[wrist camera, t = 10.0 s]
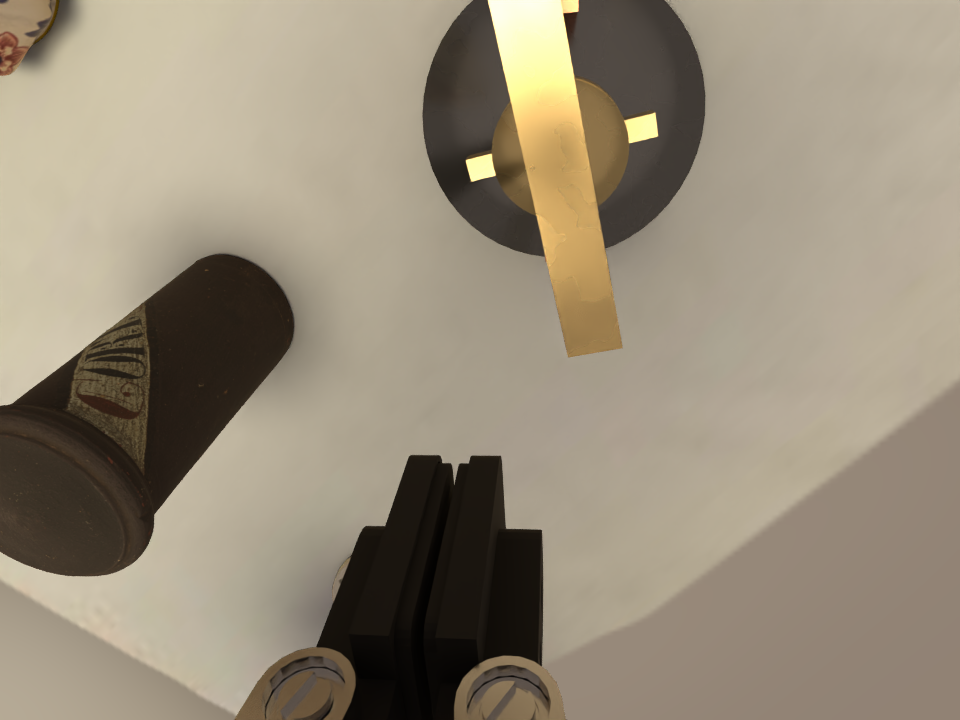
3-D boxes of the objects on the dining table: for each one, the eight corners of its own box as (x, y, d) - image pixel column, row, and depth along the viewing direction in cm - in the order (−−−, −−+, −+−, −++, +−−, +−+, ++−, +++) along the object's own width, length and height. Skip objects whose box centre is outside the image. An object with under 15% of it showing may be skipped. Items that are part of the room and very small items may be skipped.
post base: (690, 246, 38) (711, 284, 33) (441, 256, 40) (423, 294, 35) (713, -54, 31) (744, -65, 26) (409, -22, 33) (380, -27, 28)
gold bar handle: (626, -86, 26) (643, -108, 20) (674, 282, 33) (695, 335, 28) (422, -21, 27) (390, -26, 22) (510, 313, 35) (500, 368, 29)
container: (267, 237, 41) (50, 413, 24) (320, 359, 45) (167, 585, 28) (152, 266, 43) (-128, 448, 25) (212, 380, 47) (6, 604, 29)
